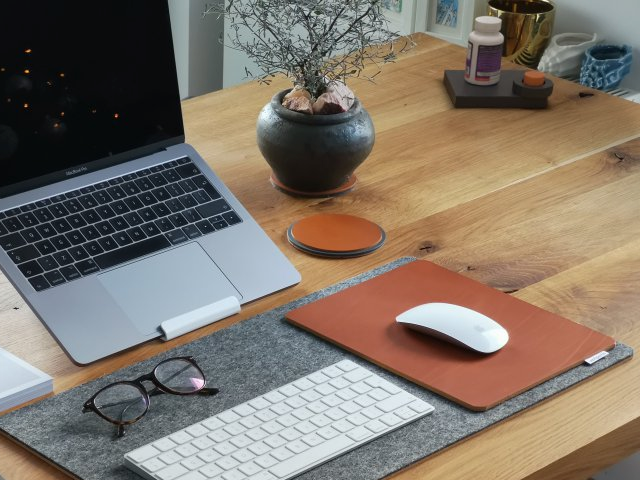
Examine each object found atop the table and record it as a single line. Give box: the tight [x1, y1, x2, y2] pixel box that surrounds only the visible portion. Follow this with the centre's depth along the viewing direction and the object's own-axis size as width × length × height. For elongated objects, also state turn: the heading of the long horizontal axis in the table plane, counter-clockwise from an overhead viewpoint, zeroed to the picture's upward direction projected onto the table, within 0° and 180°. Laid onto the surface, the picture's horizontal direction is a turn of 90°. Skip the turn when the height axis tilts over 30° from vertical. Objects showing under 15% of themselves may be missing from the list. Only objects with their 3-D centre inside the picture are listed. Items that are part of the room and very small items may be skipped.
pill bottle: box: [464, 15, 505, 85], centre depth 173 cm, size 5×5×10 cm
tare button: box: [523, 70, 545, 86], centre depth 170 cm, size 3×3×2 cm
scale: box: [443, 69, 555, 109], centre depth 174 cm, size 15×13×4 cm
